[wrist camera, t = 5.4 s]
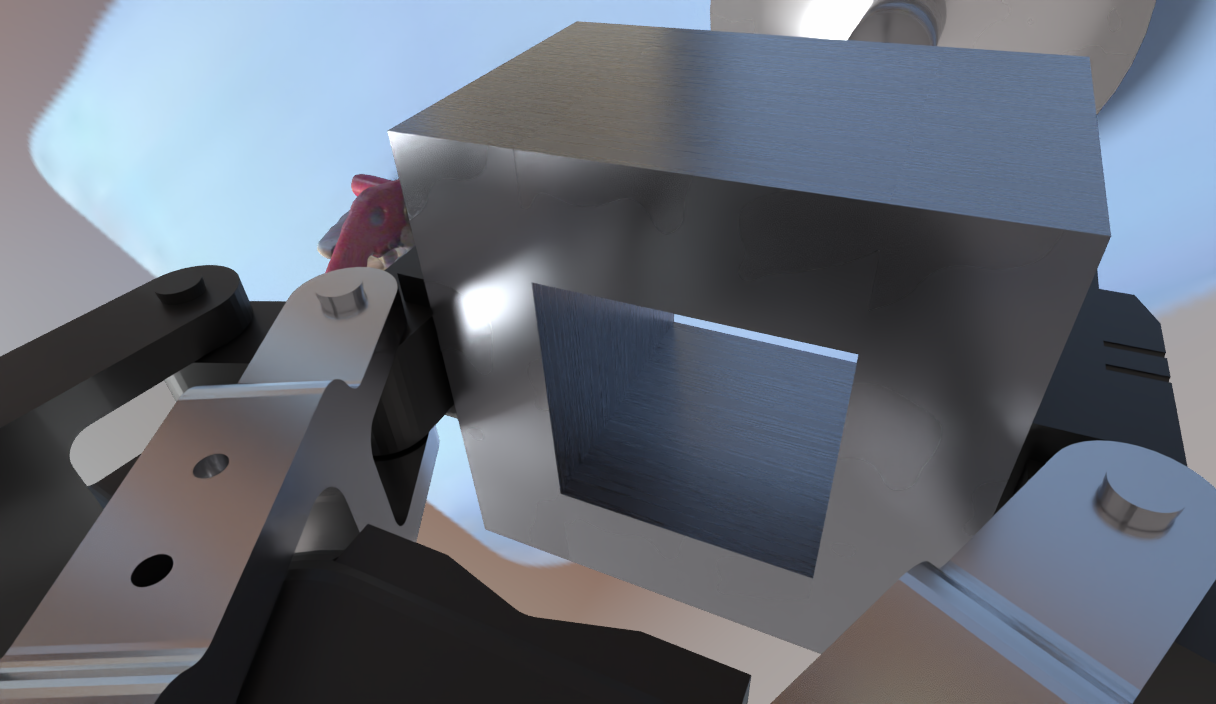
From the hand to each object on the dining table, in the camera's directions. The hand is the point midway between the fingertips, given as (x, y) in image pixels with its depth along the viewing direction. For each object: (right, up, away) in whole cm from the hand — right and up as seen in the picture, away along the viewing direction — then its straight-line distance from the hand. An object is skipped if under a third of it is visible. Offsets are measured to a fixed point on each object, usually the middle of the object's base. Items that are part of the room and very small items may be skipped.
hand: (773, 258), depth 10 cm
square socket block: (0, 0, 0) cm, 0 cm away
